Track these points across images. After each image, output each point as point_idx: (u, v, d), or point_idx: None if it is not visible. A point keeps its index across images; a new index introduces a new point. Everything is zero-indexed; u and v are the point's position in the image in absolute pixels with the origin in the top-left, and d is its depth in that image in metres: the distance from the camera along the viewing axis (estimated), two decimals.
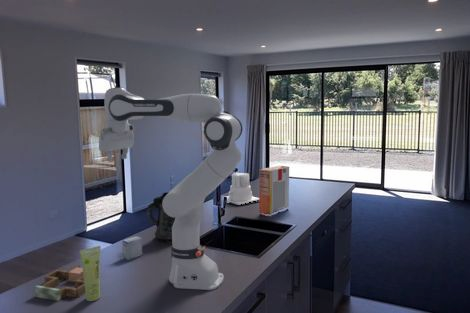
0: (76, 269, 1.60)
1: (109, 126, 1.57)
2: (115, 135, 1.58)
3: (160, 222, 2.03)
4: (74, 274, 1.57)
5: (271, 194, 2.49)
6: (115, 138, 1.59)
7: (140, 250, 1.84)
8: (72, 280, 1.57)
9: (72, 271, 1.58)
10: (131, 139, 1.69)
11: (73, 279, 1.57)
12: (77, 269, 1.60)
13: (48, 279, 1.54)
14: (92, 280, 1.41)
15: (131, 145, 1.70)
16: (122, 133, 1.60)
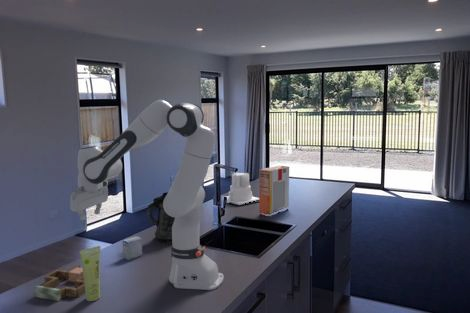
0: (76, 269, 1.60)
1: (81, 185, 1.58)
2: (87, 194, 1.59)
3: (160, 222, 2.03)
4: (74, 274, 1.57)
5: (271, 194, 2.49)
6: (87, 197, 1.60)
7: (140, 250, 1.84)
8: (72, 280, 1.57)
9: (72, 271, 1.58)
10: (105, 194, 1.70)
11: (73, 279, 1.57)
12: (77, 269, 1.60)
13: (48, 279, 1.54)
14: (92, 280, 1.41)
15: (105, 200, 1.70)
16: (95, 191, 1.61)
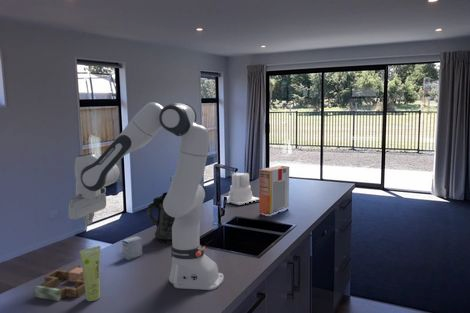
0: (76, 269, 1.60)
1: (79, 192, 1.58)
2: (85, 201, 1.59)
3: (160, 222, 2.03)
4: (74, 274, 1.57)
5: (271, 194, 2.49)
6: (85, 204, 1.60)
7: (140, 250, 1.84)
8: (72, 280, 1.57)
9: (72, 271, 1.58)
10: (103, 201, 1.70)
11: (73, 279, 1.57)
12: (77, 269, 1.60)
13: (48, 279, 1.54)
14: (92, 280, 1.41)
15: (103, 207, 1.71)
16: (92, 198, 1.62)
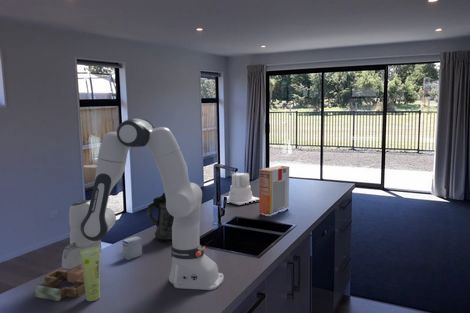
0: (75, 269, 1.59)
1: (73, 241, 1.57)
2: (79, 250, 1.57)
3: (160, 222, 2.03)
4: (72, 274, 1.56)
5: (271, 194, 2.49)
6: (79, 253, 1.58)
7: (140, 250, 1.84)
8: (71, 280, 1.57)
9: (71, 271, 1.57)
10: None
11: (72, 279, 1.56)
12: (76, 269, 1.59)
13: (48, 279, 1.54)
14: (92, 280, 1.41)
15: None
16: (87, 246, 1.60)
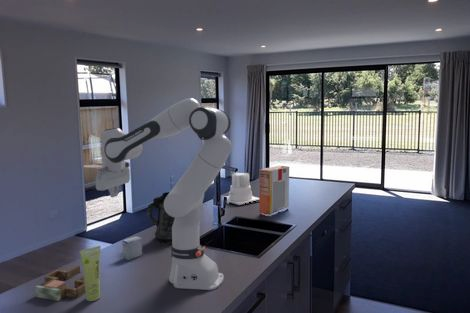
0: (53, 282, 1.48)
1: (106, 165, 1.65)
2: (111, 174, 1.65)
3: (160, 222, 2.03)
4: None
5: (271, 194, 2.49)
6: (111, 177, 1.66)
7: (140, 250, 1.84)
8: None
9: (49, 284, 1.46)
10: (127, 175, 1.77)
11: None
12: (54, 282, 1.48)
13: (48, 279, 1.54)
14: (92, 280, 1.41)
15: (127, 181, 1.77)
16: (118, 171, 1.68)
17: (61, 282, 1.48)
